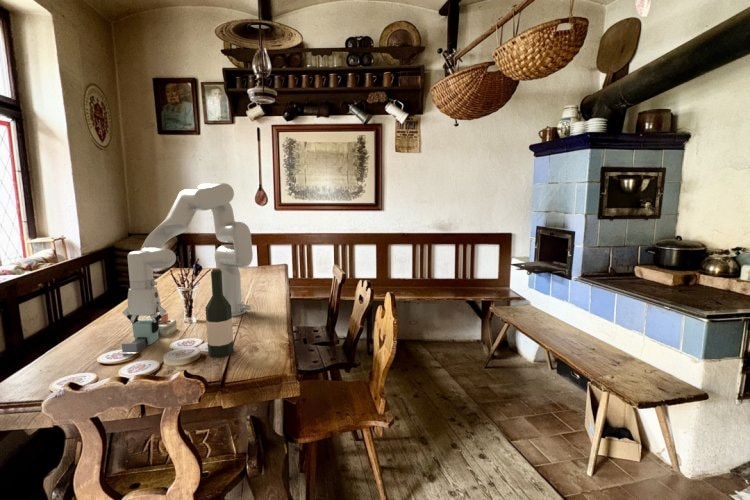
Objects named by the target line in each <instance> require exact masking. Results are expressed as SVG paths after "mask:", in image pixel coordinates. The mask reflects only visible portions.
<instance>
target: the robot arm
mask: <svg viewBox="0 0 750 500" xmlns="http://www.w3.org/2000/svg"><path fill="white" fill-rule="evenodd" d="M234 196H235V191H234V187H232V186H231V185H230V184H228V183H225V182H203V183H200V184H199V185H198V186H197V188H186V189H185V188H184V189H182V190H181V191H179V193H178V194H177V196H176V199H174V202H173V204H172V206H171V208H170V210H169V211H168V213H167V215H166V217H165V218H164V220H163V221H162V222H161V223H159V225H157V226H156V227H155V229H154V228H153V229H154V230H152V231H151V232H150V233H149V234H148V236H146V238H145V240H144V242H143V244H142V245H141V247H140V250H134V251H133V250H132V251H130V252H129V253H127V265H128V266H127V267H128V277H129V288H128V292H127V307H125V308H124V310H123V311H122V315H124V316H125V317H126V319H128V321H130V323H131V324H132V326H133V324H134V323H135V322H137V321H139V320H140V319H139V317H140V316H142V317H143V316H149V317H150V319H152V321H153V323H152V333H155V332H157V331H158V329H159V322H158V321H159V320H161V318H162V316H163V315H164V314H165V313H167V310H166V309H165V308H164V307H162V304H161V297H160V294H159V291H158V287H157V285H158V281H157V280H156V281H155V279H154V270H155V269H157V270H158V269H166V268H167V269H168V268H170V267H172V266H173V265H175V263H176V260H177V256H176V254H175V252H174V251H173V250H171V249H170V248H164V246H165V244H166V243H168V241H169V240H170V239H172V238H174V237H176V236H178V235H181V234H183V233H184V232H186V231H187V230H188V228H189V227H190V224H191V223H192V220H193V218H194V216H195V215H196V212H197V211H203V212H204V211H208V210H209V211H210V210H211V212H212V216H213V217H212V218H213V225H214V233H215V237H216V239H217V240H218V241H219V242H221V243H228V244H222V245H220V246H219V247H217V248H216V250H215V252H214V261H215V264H216V268H220V270H221V271H222V287H223V296H224V297H225V298H226V300H227V301H228V302H229V304H230V305H231V312H232V317H237V316H241V315H243V314H245V313H246V312H247V311H248V310H249V311H251V309H252V306H251V304H245V303H244V302H245V301H242V300H243V299H242V279H241V278H242V277H241V271H240V269H241V268H242V269H243V268H247V267H249V266H250V265H251V264H252V262H253V258H254V257H253V244H252V233H251V231H250V228H249V226H248V225H247V224H246V223H245V222H242V221H235V215H234V209H233V206H232V204H231V203H230V202H231V201H233V200H234V199H233V198H234ZM239 268H240V269H239ZM246 310H247V311H246ZM158 313H159V314H158Z"/></svg>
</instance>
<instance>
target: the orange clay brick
mask: <svg viewBox="0 0 750 500" xmlns="http://www.w3.org/2000/svg"><path fill="white" fill-rule="evenodd" d="M160 320H161V322H168V320H169V313H167V312H166V313H165V314H164V315H163V316H162V318H161V319H160Z"/></svg>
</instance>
